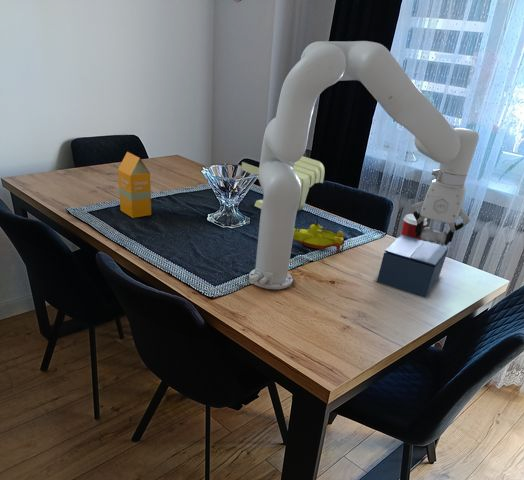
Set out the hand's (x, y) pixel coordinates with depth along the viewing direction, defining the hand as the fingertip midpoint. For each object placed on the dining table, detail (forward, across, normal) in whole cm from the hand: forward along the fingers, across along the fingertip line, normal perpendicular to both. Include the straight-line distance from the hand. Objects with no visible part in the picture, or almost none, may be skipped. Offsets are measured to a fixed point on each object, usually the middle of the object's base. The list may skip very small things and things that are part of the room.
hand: (432, 239), depth 144 cm
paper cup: (+14, -9, +17) cm, 24 cm away
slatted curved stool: (+14, -64, +29) cm, 72 cm away
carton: (+14, -3, 0) cm, 15 cm away
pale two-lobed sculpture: (+1, 0, 0) cm, 1 cm away
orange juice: (+14, -100, -14) cm, 102 cm away
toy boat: (+14, -36, +3) cm, 39 cm away
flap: (+4, -7, 0) cm, 8 cm away
